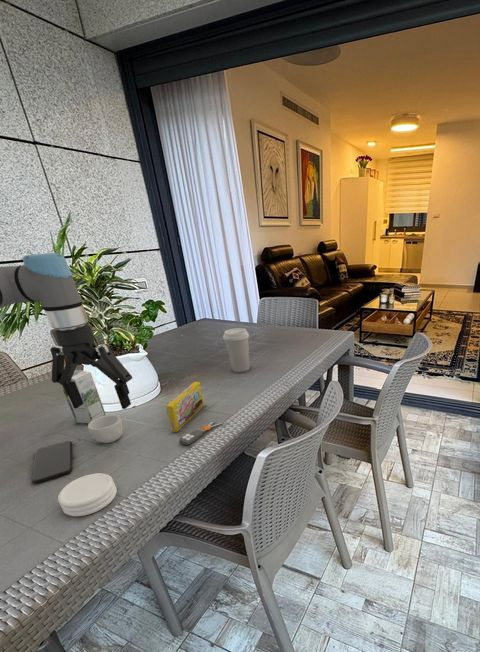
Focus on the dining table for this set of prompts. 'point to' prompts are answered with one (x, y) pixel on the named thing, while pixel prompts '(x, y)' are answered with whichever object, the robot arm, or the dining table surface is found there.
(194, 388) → the candy box
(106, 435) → the teacup
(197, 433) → the key chain
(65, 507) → the coaster
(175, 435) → the dining table surface
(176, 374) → the dining table surface
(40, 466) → the smartphone
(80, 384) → the syrup box
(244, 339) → the coffee cup
